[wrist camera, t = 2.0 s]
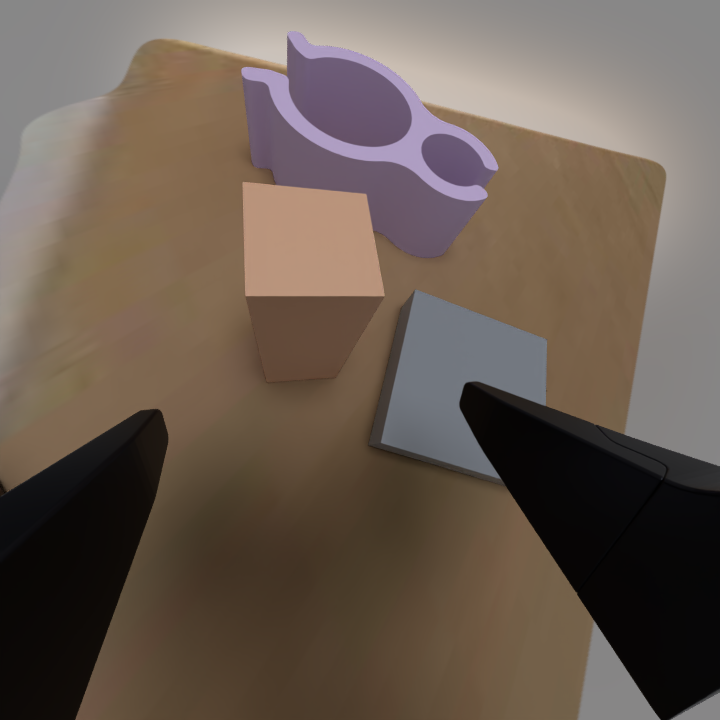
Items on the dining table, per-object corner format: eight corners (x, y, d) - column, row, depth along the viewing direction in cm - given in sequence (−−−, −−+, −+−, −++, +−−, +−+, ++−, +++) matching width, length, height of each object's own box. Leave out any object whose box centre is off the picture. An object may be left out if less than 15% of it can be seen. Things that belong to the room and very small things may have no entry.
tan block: (335, 377, 22) (384, 296, 11) (266, 382, 21) (245, 296, 10) (328, 318, 24) (366, 193, 13) (263, 319, 22) (242, 181, 11)
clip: (464, 203, 32) (509, 140, 26) (429, 286, 27) (472, 233, 21) (301, 109, 31) (306, 18, 25) (234, 178, 26) (217, 87, 20)
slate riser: (512, 488, 23) (544, 492, 20) (368, 445, 21) (380, 442, 18) (520, 351, 27) (546, 339, 24) (401, 307, 26) (415, 289, 23)
